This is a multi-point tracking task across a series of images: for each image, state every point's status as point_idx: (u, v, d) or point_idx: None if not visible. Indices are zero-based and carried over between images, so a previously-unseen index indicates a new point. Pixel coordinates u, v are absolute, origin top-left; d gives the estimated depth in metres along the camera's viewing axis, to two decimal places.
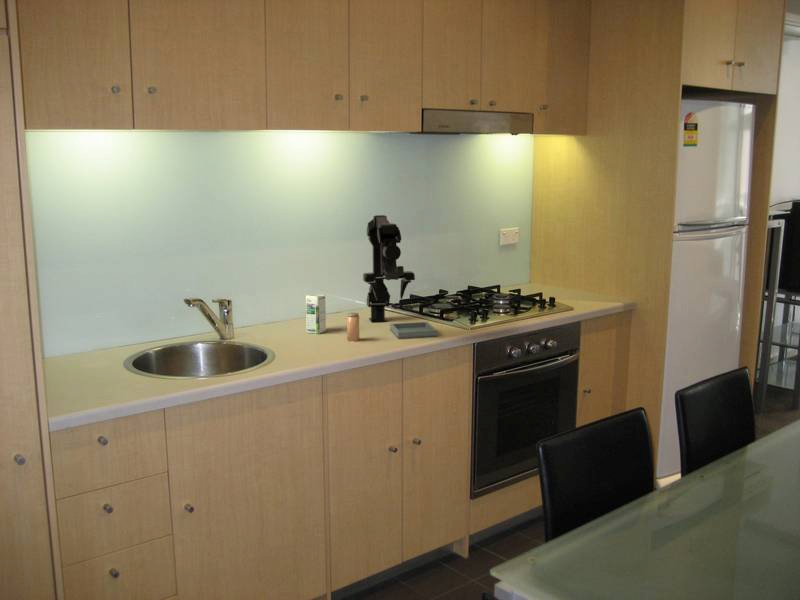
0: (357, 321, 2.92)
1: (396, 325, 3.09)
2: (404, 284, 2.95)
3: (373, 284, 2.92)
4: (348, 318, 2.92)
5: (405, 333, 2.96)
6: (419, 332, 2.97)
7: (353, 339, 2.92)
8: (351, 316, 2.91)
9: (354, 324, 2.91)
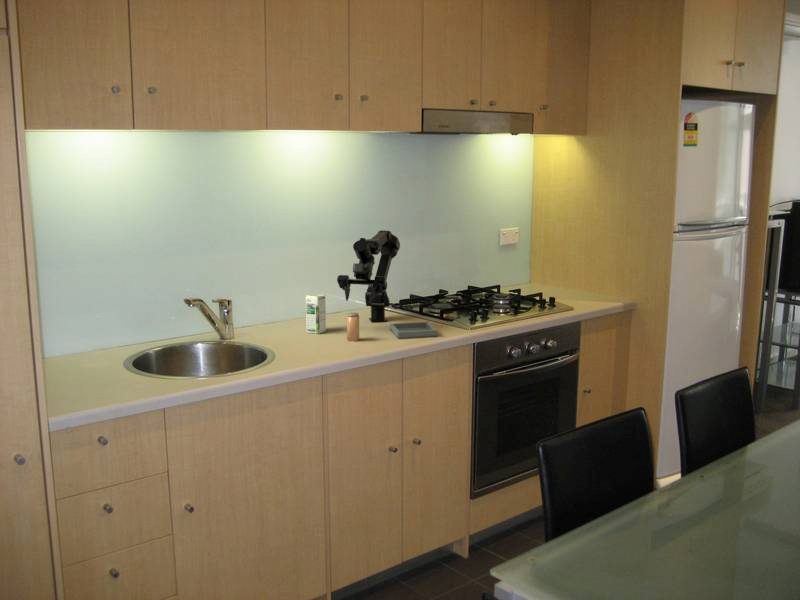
0: (357, 321, 2.92)
1: (396, 325, 3.09)
2: (374, 286, 3.00)
3: (344, 282, 3.02)
4: (348, 318, 2.92)
5: (405, 333, 2.96)
6: (419, 332, 2.97)
7: (353, 339, 2.92)
8: (351, 316, 2.91)
9: (354, 324, 2.91)
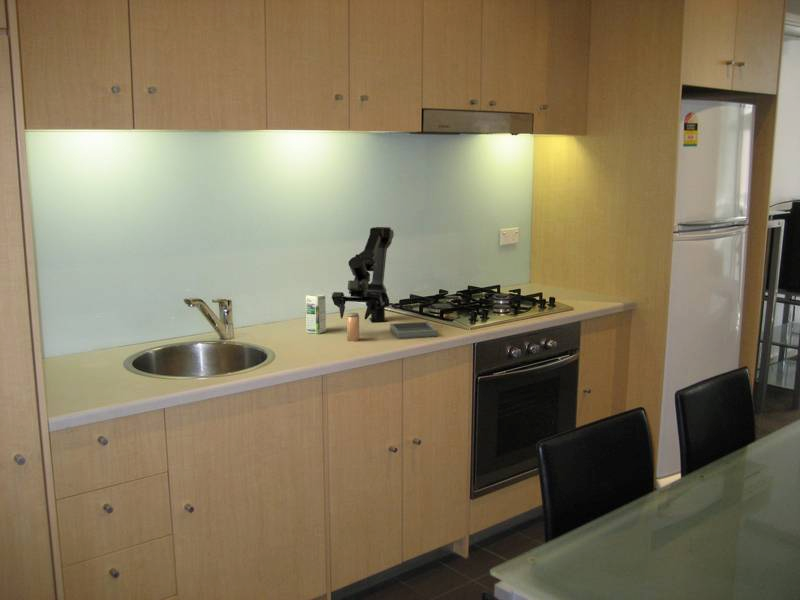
0: (357, 321, 2.92)
1: (396, 325, 3.09)
2: (369, 303, 2.94)
3: (338, 300, 2.96)
4: (348, 318, 2.92)
5: (405, 333, 2.96)
6: (419, 332, 2.97)
7: (353, 339, 2.92)
8: (351, 316, 2.91)
9: (354, 324, 2.91)
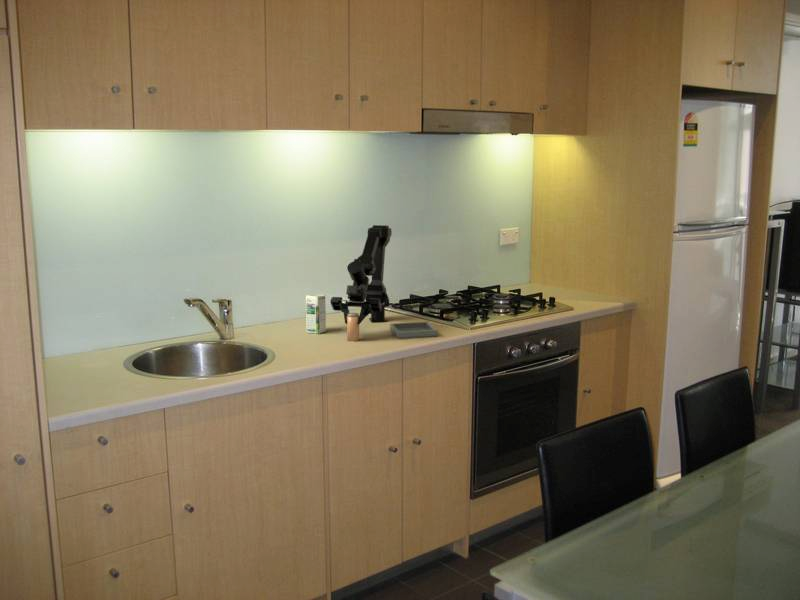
0: (357, 321, 2.92)
1: (396, 325, 3.09)
2: (362, 308, 2.93)
3: (343, 305, 2.94)
4: (348, 318, 2.92)
5: (405, 333, 2.96)
6: (419, 332, 2.97)
7: (353, 339, 2.92)
8: (351, 316, 2.91)
9: (354, 324, 2.91)
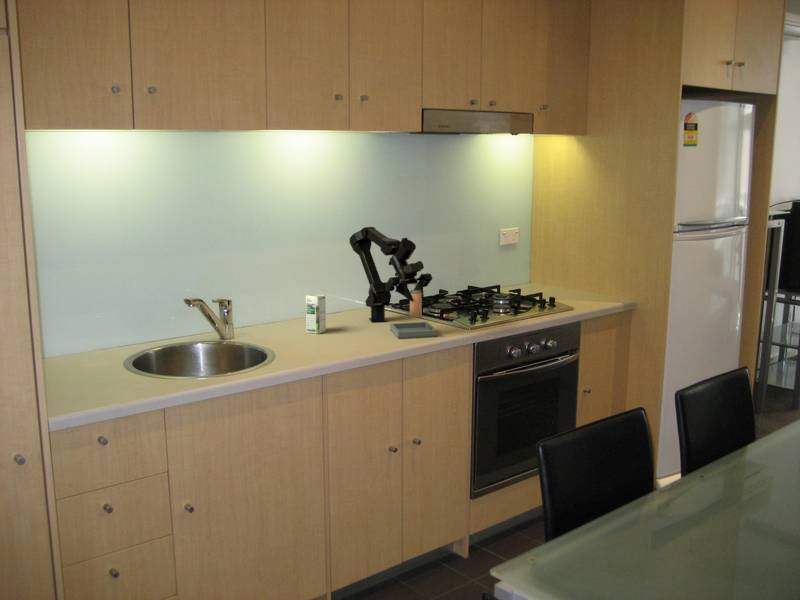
0: None
1: (396, 325, 3.09)
2: (421, 284, 3.03)
3: (404, 284, 2.99)
4: (415, 295, 2.98)
5: (405, 333, 2.96)
6: (419, 332, 2.97)
7: (420, 315, 3.01)
8: (418, 292, 2.99)
9: (420, 300, 3.00)
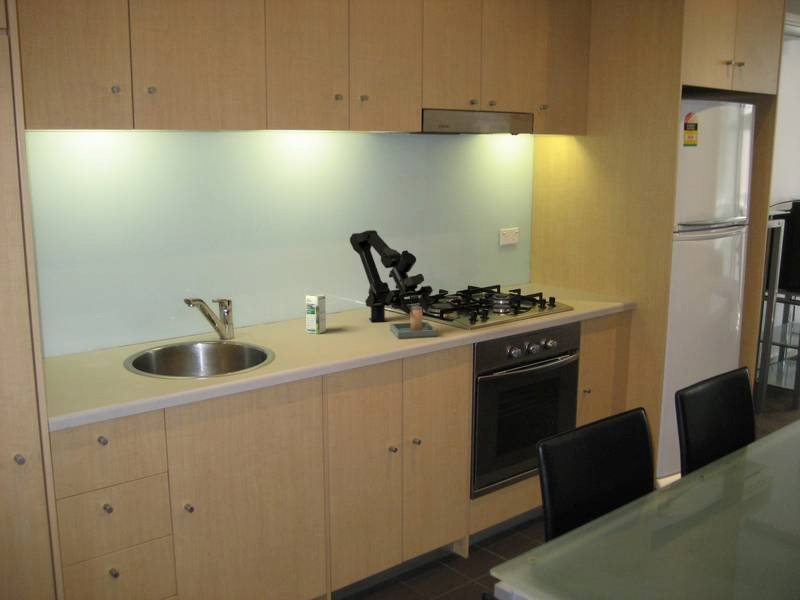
0: None
1: (396, 325, 3.09)
2: (425, 296, 3.05)
3: (401, 297, 2.99)
4: (416, 311, 3.00)
5: (405, 333, 2.96)
6: (419, 332, 2.97)
7: None
8: (419, 309, 3.00)
9: (421, 316, 3.01)
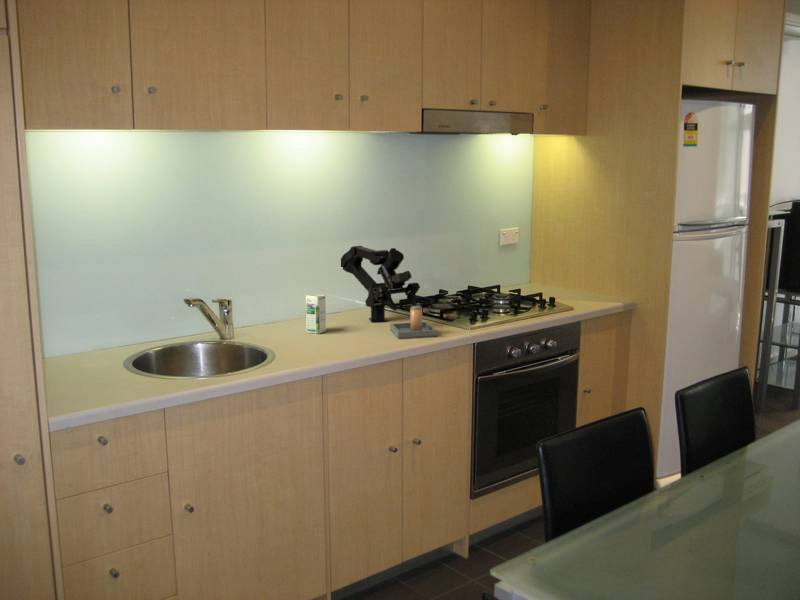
0: (421, 313, 3.02)
1: (396, 325, 3.09)
2: (413, 292, 3.12)
3: (388, 293, 3.06)
4: (416, 311, 3.00)
5: (405, 333, 2.96)
6: (419, 332, 2.97)
7: None
8: (419, 308, 3.00)
9: (421, 316, 3.01)
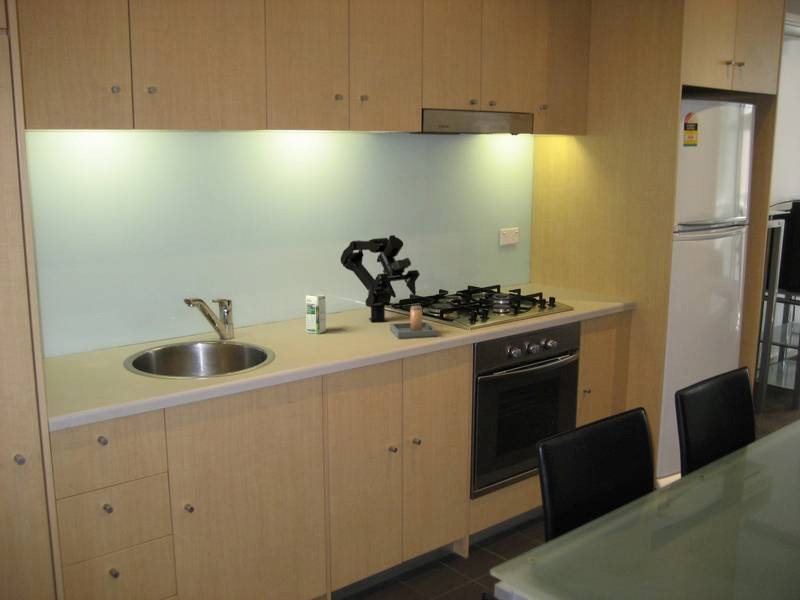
0: None
1: (396, 325, 3.09)
2: (413, 279, 3.11)
3: (387, 280, 3.05)
4: (416, 311, 3.00)
5: (405, 333, 2.96)
6: (419, 332, 2.97)
7: None
8: (419, 308, 3.00)
9: (421, 316, 3.01)
